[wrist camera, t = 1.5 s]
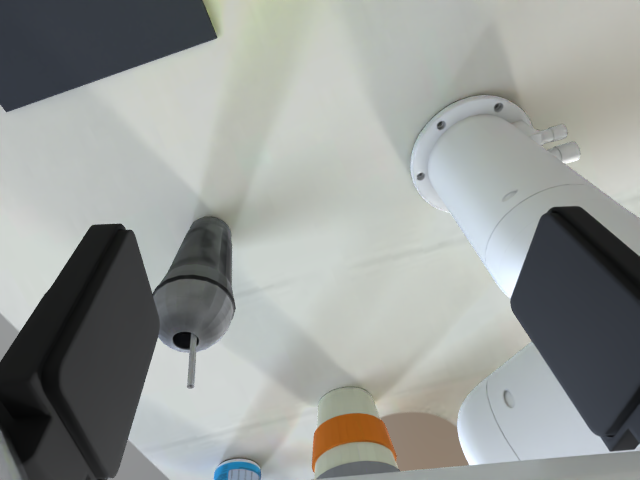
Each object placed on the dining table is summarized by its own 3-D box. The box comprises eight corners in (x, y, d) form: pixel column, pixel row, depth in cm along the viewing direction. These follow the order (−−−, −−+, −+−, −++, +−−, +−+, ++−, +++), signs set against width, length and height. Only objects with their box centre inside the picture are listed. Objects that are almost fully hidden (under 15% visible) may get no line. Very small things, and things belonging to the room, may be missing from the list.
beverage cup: (166, 212, 44) (101, 366, 28) (233, 199, 44) (207, 347, 28) (189, 265, 49) (145, 426, 32) (251, 253, 48) (238, 409, 32)
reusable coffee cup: (300, 425, 69) (304, 528, 57) (314, 377, 62) (323, 482, 50) (372, 428, 71) (392, 527, 59) (394, 382, 64) (421, 483, 52)
